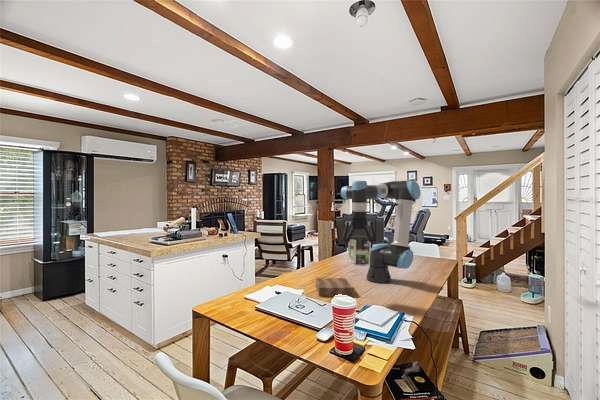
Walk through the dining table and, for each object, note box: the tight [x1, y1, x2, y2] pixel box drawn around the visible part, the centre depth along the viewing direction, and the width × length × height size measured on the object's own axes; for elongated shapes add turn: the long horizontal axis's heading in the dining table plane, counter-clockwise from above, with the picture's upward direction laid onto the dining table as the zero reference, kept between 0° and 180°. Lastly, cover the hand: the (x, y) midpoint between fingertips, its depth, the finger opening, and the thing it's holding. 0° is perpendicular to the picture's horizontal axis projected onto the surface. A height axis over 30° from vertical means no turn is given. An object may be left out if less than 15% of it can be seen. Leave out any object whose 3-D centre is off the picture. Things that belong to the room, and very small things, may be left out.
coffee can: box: [348, 234, 370, 267], centre depth 144 cm, size 10×10×14 cm
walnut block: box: [314, 277, 353, 297], centre depth 158 cm, size 18×18×4 cm
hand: (358, 254), depth 144 cm, fingers closed on coffee can, 10 cm apart
